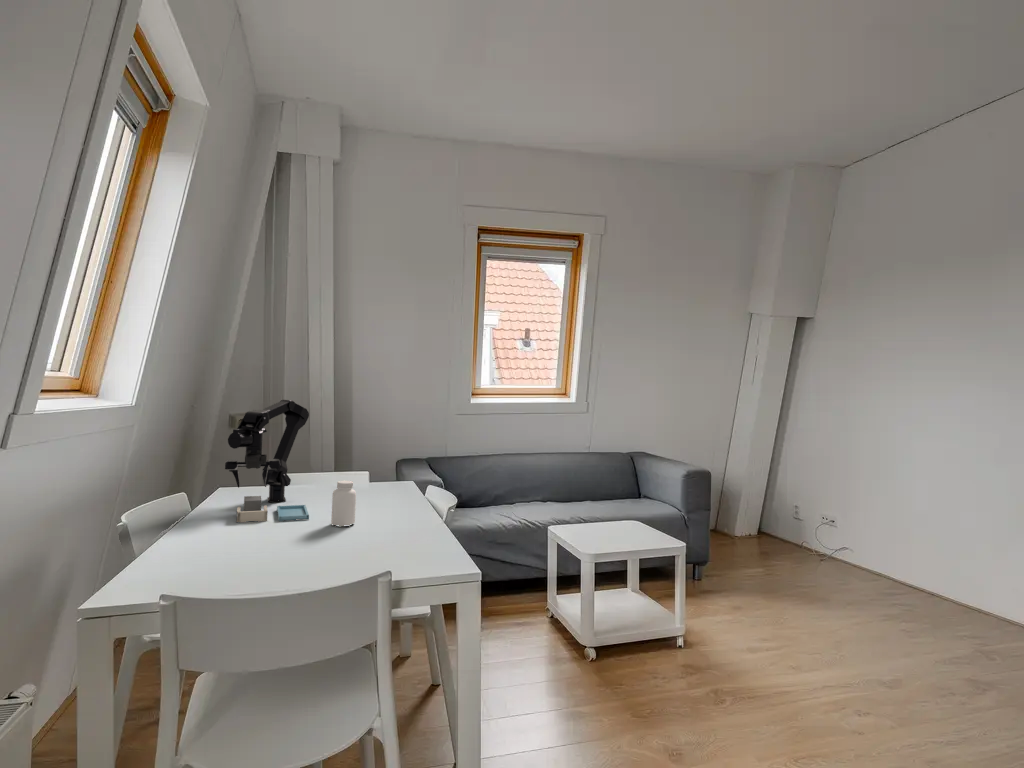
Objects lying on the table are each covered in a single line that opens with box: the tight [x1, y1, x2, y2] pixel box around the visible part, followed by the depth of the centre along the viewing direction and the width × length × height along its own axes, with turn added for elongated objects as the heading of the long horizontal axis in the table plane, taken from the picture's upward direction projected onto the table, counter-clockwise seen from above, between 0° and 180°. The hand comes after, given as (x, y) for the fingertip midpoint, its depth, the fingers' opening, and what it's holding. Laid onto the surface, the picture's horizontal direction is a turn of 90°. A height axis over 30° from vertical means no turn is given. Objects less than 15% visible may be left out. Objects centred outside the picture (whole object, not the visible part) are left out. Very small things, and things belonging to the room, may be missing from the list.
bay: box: [236, 504, 269, 523], centre depth 208 cm, size 8×10×4 cm
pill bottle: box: [330, 480, 357, 526], centre depth 207 cm, size 8×8×15 cm
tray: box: [276, 504, 310, 522], centre depth 216 cm, size 15×10×2 cm, turn 24°
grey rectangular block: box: [243, 495, 262, 511], centre depth 217 cm, size 12×6×6 cm, turn 25°
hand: (252, 487), depth 221 cm, fingers open, 9 cm apart
